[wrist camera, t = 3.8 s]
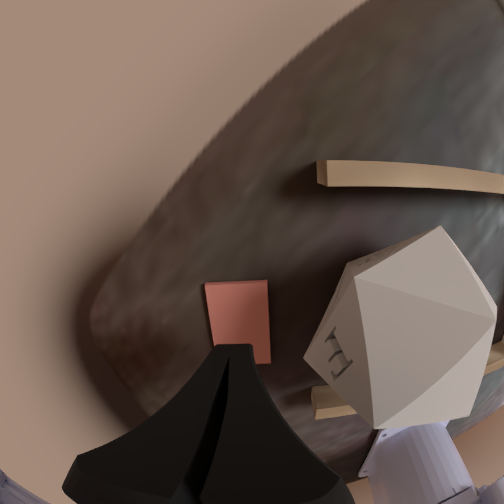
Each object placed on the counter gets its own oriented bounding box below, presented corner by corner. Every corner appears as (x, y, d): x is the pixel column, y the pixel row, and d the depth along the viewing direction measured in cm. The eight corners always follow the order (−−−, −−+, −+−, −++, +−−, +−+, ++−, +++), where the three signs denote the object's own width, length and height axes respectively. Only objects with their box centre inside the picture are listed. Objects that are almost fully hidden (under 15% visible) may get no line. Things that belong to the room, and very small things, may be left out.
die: (391, 178, 13) (311, 264, 6) (517, 264, 9) (546, 422, 3) (336, 291, 18) (244, 401, 11) (437, 356, 14) (392, 489, 8)
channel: (503, 347, 15) (521, 366, 12) (310, 396, 16) (317, 431, 13) (538, 182, 11) (566, 189, 8) (316, 160, 12) (333, 160, 9)
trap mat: (270, 360, 15) (270, 363, 15) (218, 361, 15) (217, 364, 15) (266, 279, 14) (267, 282, 13) (205, 282, 14) (204, 285, 13)
